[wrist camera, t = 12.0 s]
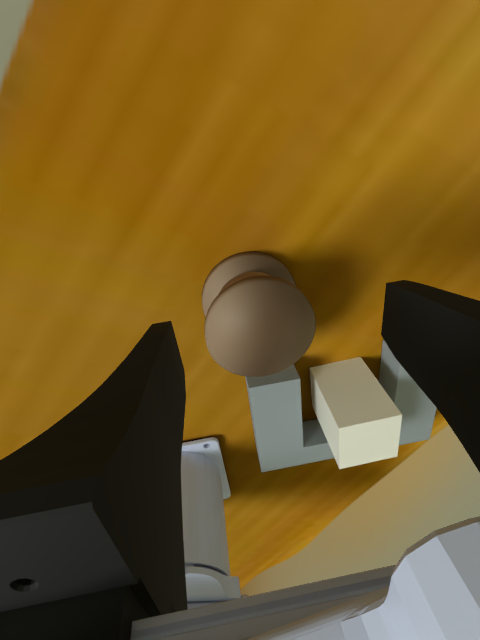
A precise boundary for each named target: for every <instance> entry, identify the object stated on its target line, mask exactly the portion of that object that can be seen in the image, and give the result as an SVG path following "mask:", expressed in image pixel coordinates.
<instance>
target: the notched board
mask: <svg viewBox="0 0 480 640" xmlns="http://www.w3.org/2000/svg"><path fill="white" fill-rule="evenodd" d="M245 377H246V383H247V390H248V397H249V403H250V410H251V416H252V423H253V429H254V436H255V442H256V448H257V453H258V458H259V463H260V467H261V472H266V471H271V470H277V469H282V468H287V467H292V466H297V465H302V464H307V463H312V462H317V461H322V460H327V459H332V458H334V455H333V453H332V451H331V448H330V446H329V444H328V441H327V439H326V437H325V434H324V432H323V430H322V427H321V425H320V423H319V421H318V419H314V420H309V421H304V422H302V407H301V386H300V377H299V375H298V373H297V370H296V368H295V366H294V364H293V365H291V366H290V367H288V368H287V369H285V370H283V371H280V372H278V373H275V374H272V375H268V376H261V377H247V376H245ZM379 383H380V384H381V386H382V387H383V389H384V390H385V391H386V393H387V394H388V396H389V397H390V398H391V400H392V401H393V402H394V404H395V405H396V407H397V408H398V409H399V411H400V412H401V414H402V421H401V429H400V438H399V445H403V444H408V443H413V442H418V441H423V440H428V439H430V435H431V430H432V426H433V422H434V417H435V413H436V408H437V407H436V406H435V405H434V404H433V403H432V401H431V400H430V399H429V398H428V397H427V396H426V394H425V393H424V392H423V391H422V390H421V388H420V387H419V386H418V385H417V384H416V382H415V381H414V380H413V379H412V378H411V377H410V375H409V374H408V373H407V372H406V370H405V369H404V368H403V367H402V366H401V364H400V363H399V362H398V361H397V359H396V358H395V357H394V355H393V354H392V352H391V350H390V349H389V347H388V345H387V344H386V342H385V340H383V344H382V353H381V363H380V372H379Z"/></svg>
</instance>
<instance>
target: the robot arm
mask: <svg viewBox="0 0 480 640" xmlns="http://www.w3.org/2000/svg"><path fill="white" fill-rule="evenodd" d="M381 335H382V337H383V338H384V340H385V342H386V344H387V345H388V347H389V349H390V350H391V352H392V354H393V355H394V357H395V358H396V359H397V361H398V362H399V363H400V364H401V366H402V367H403V368H404V369H405V370H406V372H407V373H408V374H409V375H410V377H411V378H412V379H413V380H414V381H415V382H416V384H417V385H418V386H419V387H420V388H421V390H422V391H423V392H424V393H425V394H426V396H427V397H428V398H429V399H430V400H431V401H432V403H433V404H434V405H435V406H436V407H437V409H438V410H439V411H440V413H441V414H442V415H443V417H444V418H445V419H446V421H447V422H448V424H449V425H450V427H451V428H452V430H453V431H454V433H455V434H456V436H457V437H458V439H459V440H460V442H461V443H462V445H463V446H464V448H465V450H466V451H467V453H468V454H469V456H470V458H471V459H472V461H473V462H474V464H475V466H476V467H477V469H478V470H479V472H480V301H478V300H475V299H471V298H468V297H464V296H461V295H458V294H454V293H451V292H448V291H444V290H441V289H438V288H434V287H431V286H428V285H424V284H420V283H416V282H412V281H407V280H402V281H396V282H390V283H386V292H385V302H384V312H383V322H382V332H381ZM185 401H186V391H185V374H184V367H183V364H182V360H181V356H180V353H179V349H178V345H177V341H176V338H175V334H174V330H173V326H172V323H171V321H168V322H162V323H156V324H152V325H151V326H150V328H149V329H148V330H147V332H146V333H145V334H144V335H143V337H142V338H141V339H140V341H139V342H138V343H137V345H136V346H135V347H134V348H133V350H132V351H131V352H130V354H129V355H128V356H127V357H126V359H125V360H124V361H123V362H122V363H121V364H120V365H119V366H118V367H117V369H116V370H115V371H114V372H113V373H112V374H111V375H110V376H109V378H108V379H107V380H106V381H105V382H104V383H103V384H102V385H101V386H100V387H99V388H98V389H97V390H96V391H94V392H93V393H92V394H91V395H90V396H89V397H88V398H87V399H86V400H85V401H83V402H82V403H81V404H80V405H79V406H77V407H76V408H75V409H74V410H72V411H71V412H70V413H69V414H67V415H66V416H65V417H63V418H62V419H61V420H60V421H58V422H57V423H56V424H54V425H53V426H52V427H51V428H49V429H48V430H46V431H45V432H43V433H42V434H41V435H39V436H38V437H36V438H35V439H33V440H32V441H30V442H29V443H27V444H26V445H24V446H23V447H21V448H20V449H18V450H16V451H15V452H13V453H12V454H10V455H8V456H7V457H5V458H3V459H2V460H0V640H480V517H475V518H470V519H467V520H464V521H461V522H459V523H455V524H453V525H450V526H447V527H444V528H441V529H438V530H435V531H433V532H432V533H430V534H429V535H427V536H426V537H424V538H423V539H421V540H420V541H418V542H417V543H415V544H414V545H412V546H411V547H409V548H408V549H407V550H406V551H405V553H404V554H403V556H402V557H401V559H400V560H399V562H398V563H397V565H393V566H388V567H383V568H378V569H374V570H369V571H364V572H360V573H355V574H350V575H346V576H341V577H336V578H332V579H327V580H322V581H318V582H313V583H309V584H304V585H299V586H294V587H290V588H286V589H281V590H276V591H271V592H266V593H262V594H257V595H253V596H248V595H246V594H243V595H241V594H240V585H239V578H238V577H232V576H230V567H229V556H228V546H227V535H226V525H225V514H224V503H223V499H227V498H229V497H230V496H231V493H230V488H229V483H228V479H227V475H226V471H225V466H224V462H223V458H222V454H221V449H220V445H219V441H218V439H217V438H215V437H211V438H206V439H200V440H195V441H190V442H185V443H182V441H183V428H184V415H185Z"/></svg>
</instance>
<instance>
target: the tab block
mask: <svg viewBox="0 0 480 640" xmlns="http://www.w3.org/2000/svg"><path fill="white" fill-rule="evenodd" d="M309 369H310V384H311V398H312V407H313V409H314V411H315V414H316V416H317V418H318V421H319V423H320V425H321V427H322V430H323V432H324V434H325V437H326V439H327V441H328V444H329V446H330V448H331V451H332V453H333V455H334V458H335V460H336V462H337V465H338V467H339V469H343V468H347V467H352V466H356V465H361V464H365V463H370V462H374V461H379V460H384V459H388V458H393V457H397V455H398V446H399V438H400V429H401V421H402V414H401V412H400V411H399V409H398V408H397V407H396V405H395V404H394V402H393V401H392V400H391V398H390V397H389V396H388V394H387V393H386V391H385V390H384V389H383V387H382V386H381V384H380V383H379V382H378V380H377V379H376V378H375V376H374V375H373V373H372V372H371V371H370V369H369V368H368V366H367V365H366V364H365V362H364V361H363V360H362V358H361V357H358V358H353V359H349V360H344V361H339V362H334V363H330V364H325V365H320V366H315V367H311V368H309Z"/></svg>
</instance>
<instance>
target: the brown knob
mask: <svg viewBox="0 0 480 640" xmlns="http://www.w3.org/2000/svg"><path fill="white" fill-rule="evenodd" d="M202 302H203V310H204V314H205V317H206V319H205V338H206V344H207V348H208V350H209V352H210V354H211V356H212V357H213V359H214V360H215V361H216V362H217V363H218V364H219V365H220V366H221V367H223V368H224V369H226V370H228V371H230V372H232V373H234V374H238V375H241V376H247V377H261V376H268V375H272V374H275V373H278V372H280V371H283V370H285V369H287V368H288V367H290V366H291V365H293V364H294V363H295V362H297V361H298V360H299V359H300V358H301V357H302V356H303V355H304V354H305V352H306V351H307V349H308V348H309V346H310V344H311V342H312V340H313V337H314V333H315V326H316V322H315V315H314V311H313V309H312V307H311V305H310V303H309V302H308V300H307V298H306V297H305V295H304V294H303V293H302V292H301V290H300V289H299V288H297V287H296V284H295V281H294V279H293V277H292V276H291V274H290V272H289V271H288V269H287V268H286V267H285V266H284V264H283V263H281V262H280V261H279V260H278V259H276V258H274V257H273V256H270V255H268V254H265V253H261V252H242V253H238V254H235V255H232V256H230V257H228V258H226V259H224V260H223V261H221V262H220V263H219V264H217V265H216V266H215V267H214V268H213V270H212V271H211V272H210V274H209V275H208V277H207V279H206V281H205V283H204V287H203V292H202Z"/></svg>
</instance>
